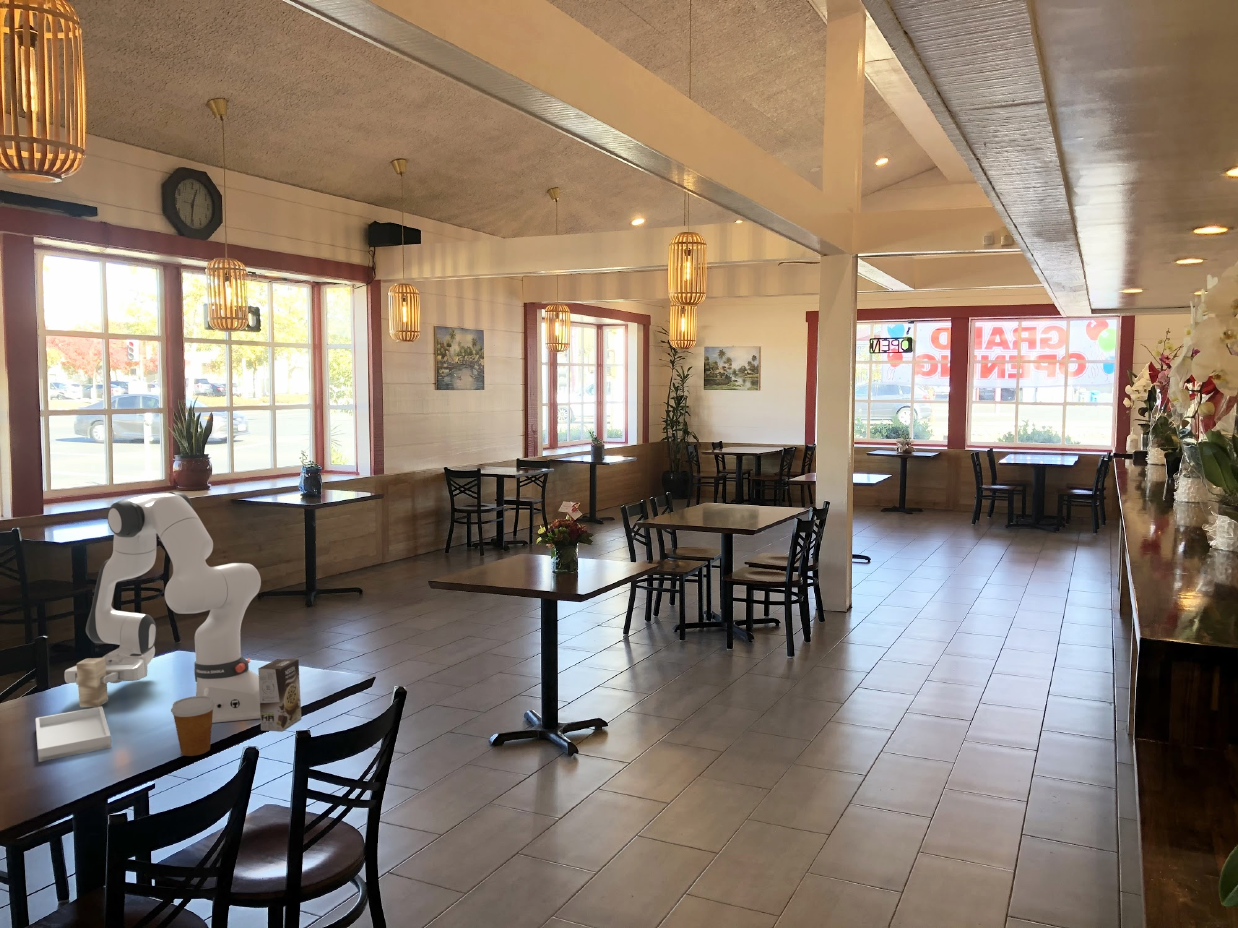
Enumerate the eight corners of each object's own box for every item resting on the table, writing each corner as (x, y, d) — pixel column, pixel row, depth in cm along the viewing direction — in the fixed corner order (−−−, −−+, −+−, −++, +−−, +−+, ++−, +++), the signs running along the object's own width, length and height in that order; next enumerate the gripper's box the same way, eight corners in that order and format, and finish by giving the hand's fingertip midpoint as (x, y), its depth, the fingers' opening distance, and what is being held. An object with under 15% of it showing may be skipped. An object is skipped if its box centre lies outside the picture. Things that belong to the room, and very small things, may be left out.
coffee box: (283, 732, 235) (280, 668, 234) (260, 730, 236) (256, 667, 235) (302, 719, 244) (299, 658, 243) (280, 718, 245) (277, 657, 244)
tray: (111, 747, 227) (110, 735, 227) (38, 761, 219) (37, 749, 219) (102, 717, 249) (102, 706, 249) (36, 729, 241) (35, 717, 241)
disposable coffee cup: (206, 758, 219) (203, 708, 218) (166, 759, 219) (162, 708, 218) (224, 743, 229) (221, 694, 228) (185, 743, 229) (182, 695, 228)
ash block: (108, 700, 259) (105, 657, 258) (98, 706, 254) (95, 663, 253) (89, 701, 259) (86, 658, 258) (79, 707, 254) (76, 663, 253)
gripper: (79, 656, 269) (51, 671, 255) (151, 654, 269) (127, 668, 255) (80, 678, 269) (52, 693, 255) (152, 675, 270) (128, 691, 256)
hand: (90, 681), depth 255 cm, fingers closed on ash block, 5 cm apart
